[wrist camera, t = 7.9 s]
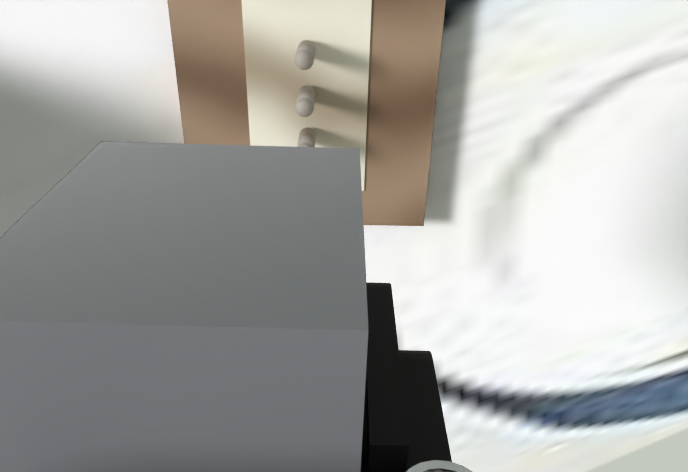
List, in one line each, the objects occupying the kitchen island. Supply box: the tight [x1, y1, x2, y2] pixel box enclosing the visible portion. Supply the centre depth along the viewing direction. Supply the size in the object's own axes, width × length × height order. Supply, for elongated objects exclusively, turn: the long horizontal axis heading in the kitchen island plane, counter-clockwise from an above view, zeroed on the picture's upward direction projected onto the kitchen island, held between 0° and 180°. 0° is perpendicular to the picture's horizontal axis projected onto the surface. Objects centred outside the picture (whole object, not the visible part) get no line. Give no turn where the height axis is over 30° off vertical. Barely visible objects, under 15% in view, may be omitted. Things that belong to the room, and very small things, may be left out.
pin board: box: [168, 0, 446, 226], centre depth 27 cm, size 14×12×4 cm
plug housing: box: [0, 142, 368, 472], centre depth 10 cm, size 8×4×5 cm, turn 179°
